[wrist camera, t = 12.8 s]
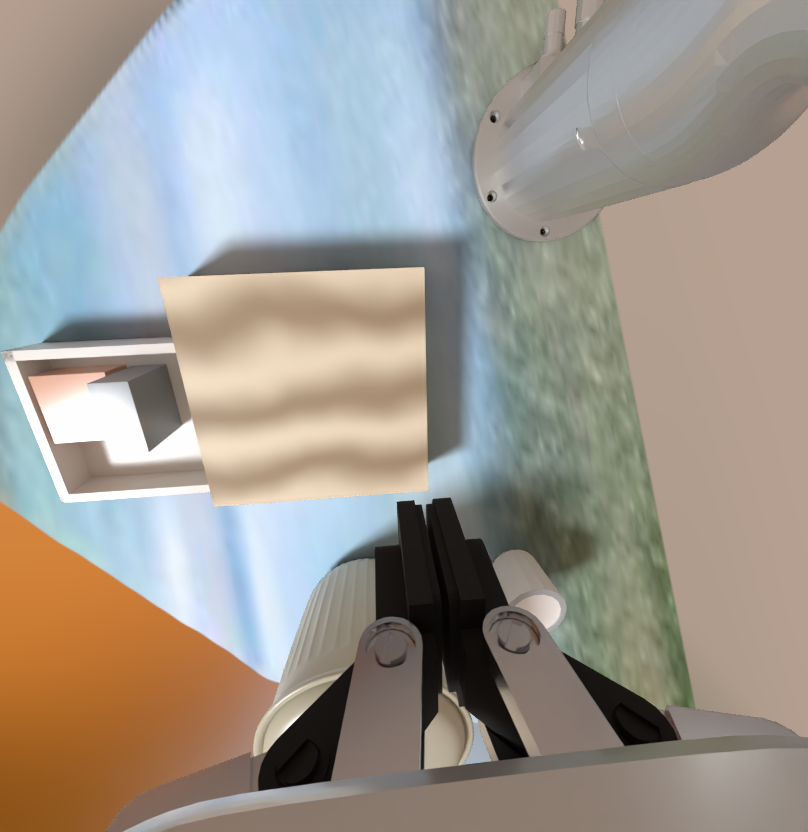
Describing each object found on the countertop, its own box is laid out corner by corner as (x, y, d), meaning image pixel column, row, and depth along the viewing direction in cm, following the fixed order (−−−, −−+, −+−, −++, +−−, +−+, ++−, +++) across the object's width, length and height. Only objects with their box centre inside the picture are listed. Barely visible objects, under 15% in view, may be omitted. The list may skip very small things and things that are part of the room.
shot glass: (509, 536, 46) (531, 580, 39) (551, 559, 48) (580, 605, 41) (474, 576, 48) (491, 625, 41) (517, 597, 49) (539, 647, 43)
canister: (437, 643, 51) (478, 876, 32) (298, 651, 50) (250, 900, 30) (445, 529, 45) (502, 731, 25) (285, 534, 43) (215, 752, 24)
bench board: (187, 276, 33) (157, 277, 29) (417, 267, 35) (424, 267, 30) (232, 479, 41) (213, 506, 36) (422, 466, 42) (428, 490, 37)
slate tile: (166, 363, 35) (132, 365, 35) (127, 381, 30) (86, 383, 29) (182, 425, 37) (150, 427, 37) (148, 452, 32) (110, 455, 31)
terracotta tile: (104, 372, 32) (125, 364, 35) (28, 376, 32) (56, 368, 35) (126, 438, 34) (144, 425, 37) (54, 443, 34) (78, 430, 37)
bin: (40, 342, 34) (0, 351, 31) (197, 335, 35) (176, 342, 32) (91, 480, 39) (62, 502, 36) (227, 471, 40) (213, 491, 36)
